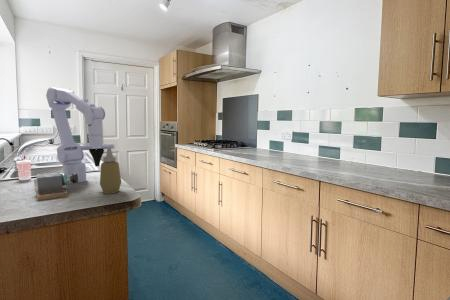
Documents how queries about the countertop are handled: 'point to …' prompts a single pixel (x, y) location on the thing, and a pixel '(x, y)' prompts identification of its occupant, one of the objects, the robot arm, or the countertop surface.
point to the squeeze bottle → (110, 174)
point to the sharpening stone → (50, 186)
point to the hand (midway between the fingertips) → (97, 166)
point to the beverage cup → (24, 169)
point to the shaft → (63, 179)
